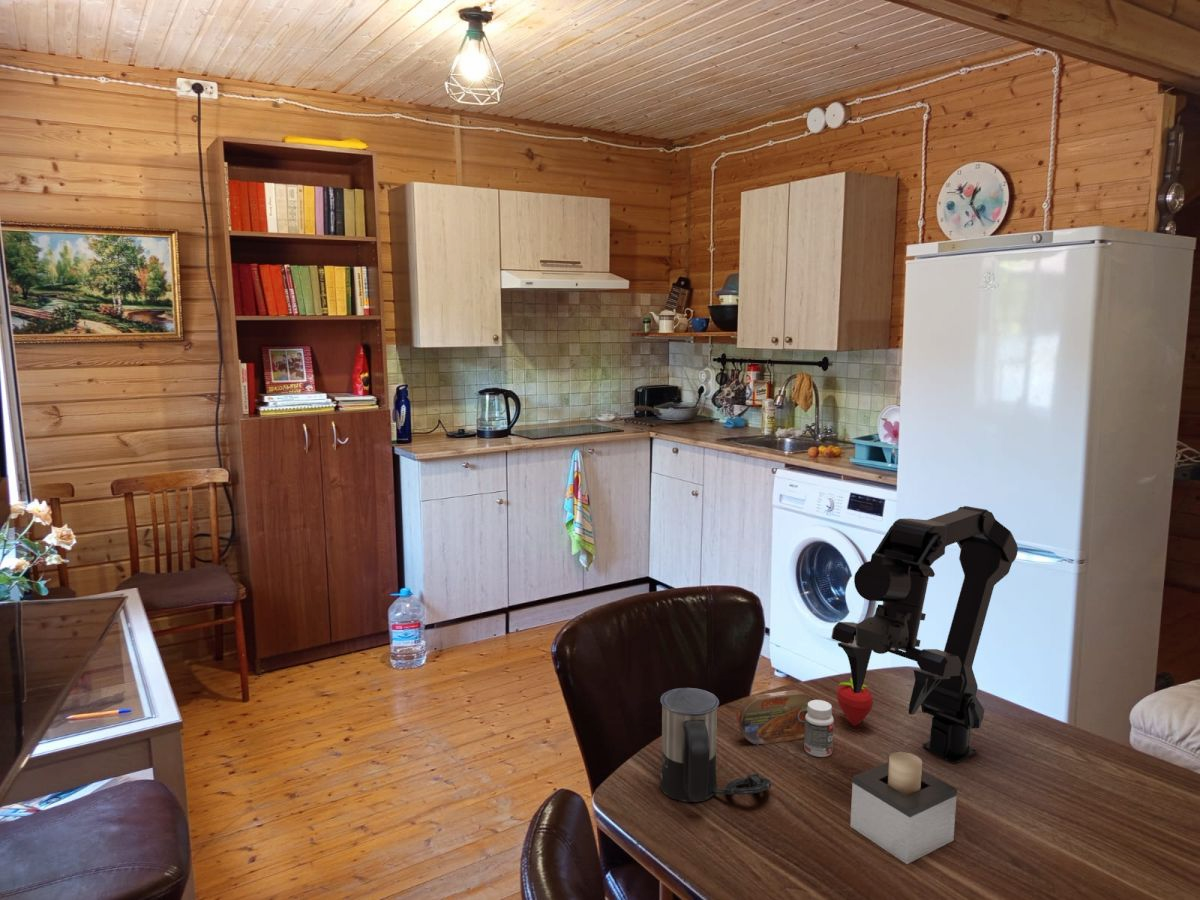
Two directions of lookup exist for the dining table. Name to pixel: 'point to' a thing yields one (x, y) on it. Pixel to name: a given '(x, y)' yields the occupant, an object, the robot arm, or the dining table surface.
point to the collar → (903, 813)
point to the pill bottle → (819, 728)
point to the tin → (774, 717)
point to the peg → (905, 772)
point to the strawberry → (854, 702)
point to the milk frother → (694, 748)
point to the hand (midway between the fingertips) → (883, 703)
